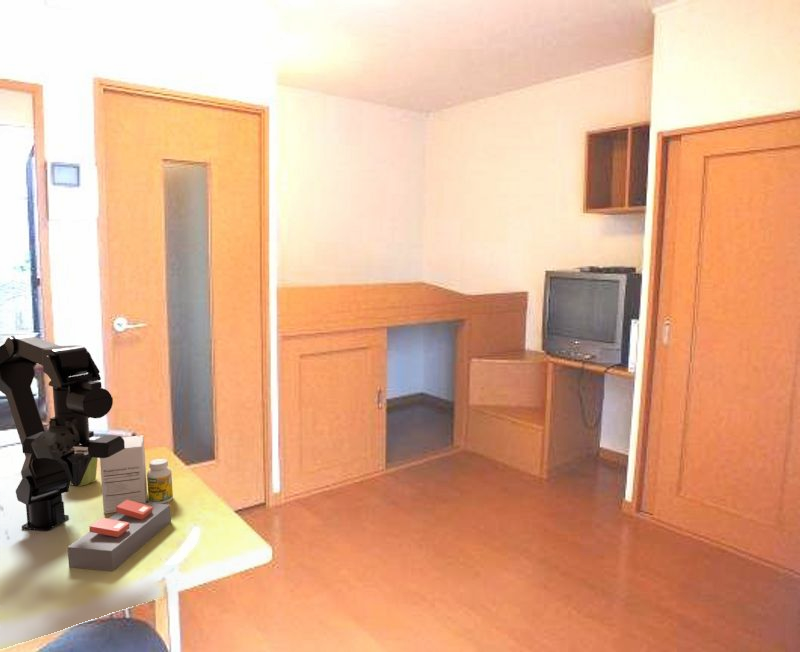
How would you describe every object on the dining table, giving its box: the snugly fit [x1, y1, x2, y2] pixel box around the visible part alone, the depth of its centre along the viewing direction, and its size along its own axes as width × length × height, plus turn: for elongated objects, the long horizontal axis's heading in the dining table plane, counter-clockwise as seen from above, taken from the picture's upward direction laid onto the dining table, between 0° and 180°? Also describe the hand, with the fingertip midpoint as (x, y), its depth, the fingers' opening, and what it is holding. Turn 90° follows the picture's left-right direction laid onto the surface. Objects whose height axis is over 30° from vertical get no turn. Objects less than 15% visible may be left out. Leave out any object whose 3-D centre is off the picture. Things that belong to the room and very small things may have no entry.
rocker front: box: [88, 517, 130, 537], centre depth 113 cm, size 6×4×1 cm, turn 81°
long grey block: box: [67, 502, 172, 572], centre depth 120 cm, size 9×24×4 cm, turn 171°
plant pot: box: [70, 444, 99, 487], centre depth 148 cm, size 9×9×9 cm
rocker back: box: [115, 499, 153, 520], centre depth 121 cm, size 6×4×1 cm, turn 81°
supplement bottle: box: [146, 458, 174, 504], centre depth 138 cm, size 5×5×10 cm
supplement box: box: [99, 434, 148, 515], centre depth 135 cm, size 9×9×15 cm
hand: (76, 485), depth 117 cm, fingers closed
